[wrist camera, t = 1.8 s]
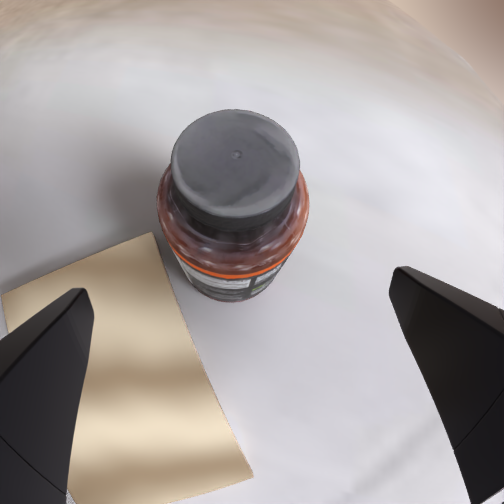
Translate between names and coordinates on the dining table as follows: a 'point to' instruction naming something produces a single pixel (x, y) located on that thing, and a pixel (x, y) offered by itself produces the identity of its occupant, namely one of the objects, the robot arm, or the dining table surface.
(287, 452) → the dining table surface
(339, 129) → the dining table surface
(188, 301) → the dining table surface
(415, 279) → the robot arm
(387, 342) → the dining table surface
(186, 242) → the supplement bottle
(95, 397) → the board
